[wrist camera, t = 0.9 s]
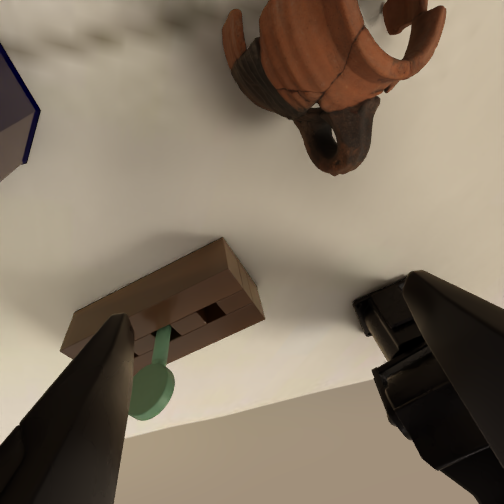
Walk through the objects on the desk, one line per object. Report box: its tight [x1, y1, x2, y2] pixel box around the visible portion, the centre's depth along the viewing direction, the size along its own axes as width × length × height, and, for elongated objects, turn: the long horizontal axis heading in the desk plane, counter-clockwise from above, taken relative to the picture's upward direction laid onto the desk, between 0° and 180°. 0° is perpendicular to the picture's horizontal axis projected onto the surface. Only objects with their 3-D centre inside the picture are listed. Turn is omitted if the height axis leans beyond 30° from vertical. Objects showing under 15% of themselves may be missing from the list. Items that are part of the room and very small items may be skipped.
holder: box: [60, 237, 265, 377], centre depth 26 cm, size 6×15×4 cm, turn 116°
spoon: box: [128, 324, 175, 421], centre depth 24 cm, size 1×4×10 cm, turn 116°
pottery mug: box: [222, 0, 446, 176], centre depth 16 cm, size 12×10×8 cm
